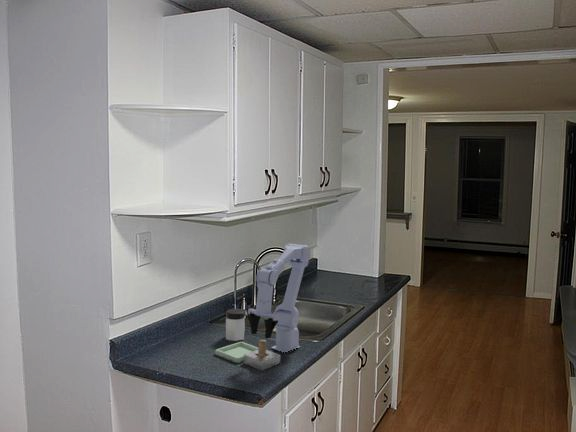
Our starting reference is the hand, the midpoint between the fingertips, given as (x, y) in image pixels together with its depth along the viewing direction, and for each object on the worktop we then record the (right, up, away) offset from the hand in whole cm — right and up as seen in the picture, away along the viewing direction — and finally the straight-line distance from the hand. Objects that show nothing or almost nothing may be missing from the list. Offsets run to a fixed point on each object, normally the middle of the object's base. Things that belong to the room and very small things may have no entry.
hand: (260, 335), depth 215 cm
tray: (-9, -10, +10) cm, 17 cm away
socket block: (0, -11, +1) cm, 11 cm away
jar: (-13, -7, +30) cm, 33 cm away
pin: (0, -11, +1) cm, 11 cm away
